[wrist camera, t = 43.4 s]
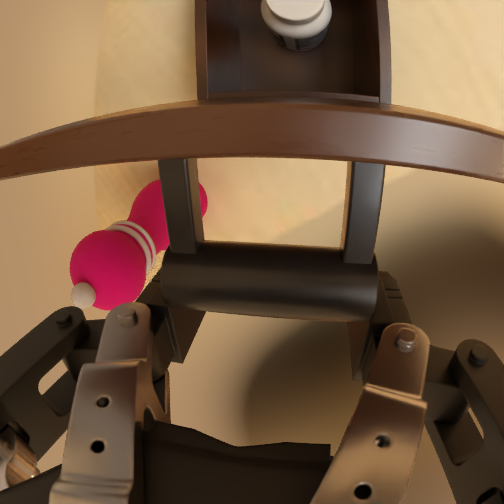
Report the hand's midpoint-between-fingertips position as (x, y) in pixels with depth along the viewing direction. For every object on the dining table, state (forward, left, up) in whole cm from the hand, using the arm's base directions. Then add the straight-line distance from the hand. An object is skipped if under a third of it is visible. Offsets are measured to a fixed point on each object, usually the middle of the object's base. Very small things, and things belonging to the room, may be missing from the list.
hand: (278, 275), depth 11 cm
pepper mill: (+5, -13, -23) cm, 26 cm away
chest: (-13, 0, -22) cm, 26 cm away
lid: (-6, 0, -3) cm, 7 cm away
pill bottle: (-14, 0, -22) cm, 26 cm away
